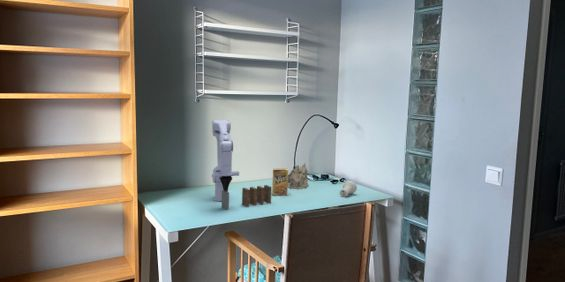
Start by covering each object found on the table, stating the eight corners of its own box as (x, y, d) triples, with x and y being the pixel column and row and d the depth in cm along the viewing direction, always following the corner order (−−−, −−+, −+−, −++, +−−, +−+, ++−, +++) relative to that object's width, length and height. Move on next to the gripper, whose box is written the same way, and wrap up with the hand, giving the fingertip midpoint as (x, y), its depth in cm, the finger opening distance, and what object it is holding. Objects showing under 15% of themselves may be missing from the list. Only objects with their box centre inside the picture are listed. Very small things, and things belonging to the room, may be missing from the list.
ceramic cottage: (295, 181, 281) (295, 159, 278) (313, 187, 270) (313, 164, 266) (277, 186, 271) (278, 163, 268) (295, 192, 259) (296, 169, 256)
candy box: (272, 195, 245) (273, 169, 243) (272, 193, 249) (272, 167, 247) (287, 195, 245) (288, 169, 243) (287, 193, 250) (288, 168, 247)
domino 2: (246, 206, 221) (247, 190, 220) (241, 204, 225) (242, 187, 224) (249, 206, 222) (249, 189, 221) (244, 204, 226) (245, 187, 225)
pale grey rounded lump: (358, 192, 254) (355, 179, 252) (350, 200, 245) (348, 187, 243) (346, 192, 259) (343, 180, 257) (338, 200, 250) (335, 187, 248)
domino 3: (254, 205, 223) (254, 189, 222) (249, 203, 228) (249, 187, 226) (256, 205, 224) (257, 188, 223) (251, 202, 228) (252, 186, 227)
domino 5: (268, 203, 228) (268, 187, 227) (263, 201, 233) (264, 185, 231) (270, 203, 229) (271, 187, 228) (266, 200, 233) (266, 184, 232)
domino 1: (225, 210, 214) (226, 192, 213) (221, 207, 218) (221, 190, 217) (228, 209, 215) (229, 192, 214) (224, 207, 219) (224, 190, 218)
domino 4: (261, 204, 226) (261, 188, 225) (256, 202, 230) (257, 186, 229) (263, 204, 227) (264, 187, 226) (259, 201, 231) (259, 185, 230)
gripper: (216, 167, 206) (215, 194, 208) (242, 164, 214) (241, 190, 216) (210, 164, 212) (209, 190, 214) (235, 162, 220) (235, 187, 222)
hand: (225, 190), depth 215 cm, fingers closed
